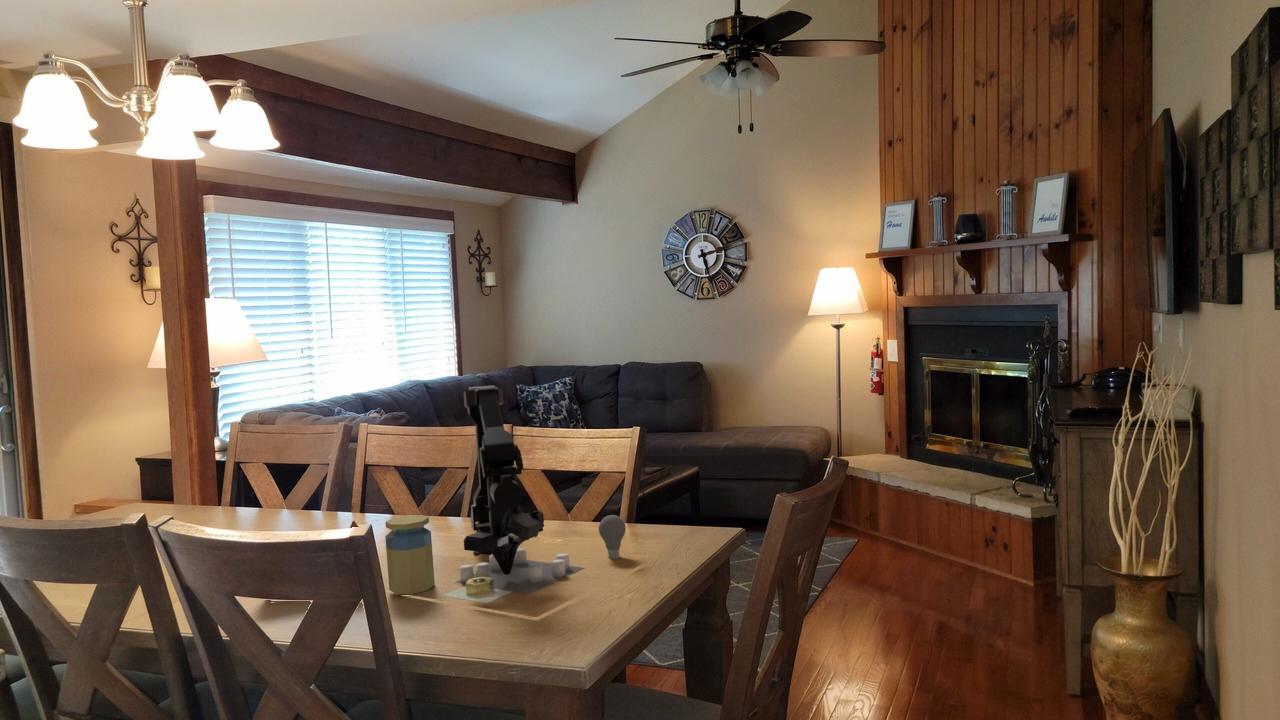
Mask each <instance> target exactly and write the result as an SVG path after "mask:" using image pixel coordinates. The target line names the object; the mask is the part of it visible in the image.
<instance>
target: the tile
mask: <svg viewBox="0 0 1280 720" xmlns="http://www.w3.org/2000/svg"><path fill="white" fill-rule="evenodd" d="M511 593H512V592H511V591H505V590H499V589H493V590H492V591H491V592H490V593H489V594H483V595H478V596H474V595H470V594H466V585H465V586H462V587H459V588H456V589H455V590H452V591H450V592H449V591H448V592H446V593H444V594H443V595H442V596H443V597H447V598H454V599H460V600H466V601H472V602H476V603H482V604H489V603H490V602H493V601H495V600H498V599H500V598H502V597H504V596H506V595H509V594H511Z"/></svg>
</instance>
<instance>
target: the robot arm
mask: <svg viewBox="0 0 1280 720" xmlns="http://www.w3.org/2000/svg"><path fill="white" fill-rule="evenodd" d="M503 396H504V395H503V388H502V387H497V386H496V385H493V384H492V385H483V386H482V385H481V386H472V387H471V386H468V390H464V391H463V403H464V407H465V408H466V409H467V414H468V415H469V417H470V418H471V420H472V421H473V423H474V424H475V425H474V426H475V437H476V439H475V441H476V456H477V457H476V458H477V469H478V470H477V471H478V487H477V489H476V490H475V492H474V494H473V504H471V505H470V509H471V510H470V523H471V524H470V525H471V528H472V531H473V532H474V531H475V532H474V533H471V534H467V535H466V536H465V538H464V539H463V548H464V549H463V550H464V551H469V552H472V553H473V555H475V556H477V555H478V556H482V555H488V556H489V555H491V554H493V556H494V557H495V559H496V561H497V562H498V564H499V566H500V568H501V569H502V571H503V573H504V574H506V575H508V574H510V573H511V569H512V565H513V561H514V557H515V554H516V551H517V549H518V548H519V547H520V546H521V545H522V544H523V543H524V542H525V541H529V540H530V539H532V538H536V537H538V535H539V533H540V532H541V533H542V532H543V531H544V527H545V523H544V522H545V517H544V513H543V512H542V511H541V510H539V509H537V510H535V511H532V512H531V513H530V512H527V513H525V512H524V511H523V506H522V504H521V502H522V501H523V495H524V494H523V490H522V488H521V487H520V486H519V484H518V483H517V481H516V477H515V476H516V475H522V474H523V472H522V470H523V469H524V463H523V458H522V451H521V449H520V448H519V445H517V443H516V444H515V442H514V438H513V435H512V433H510V432H509V431H507V430H506V429H505V426H504V422H503V416H502V413H501V408H500V405H503V404H504V397H503Z"/></svg>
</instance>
